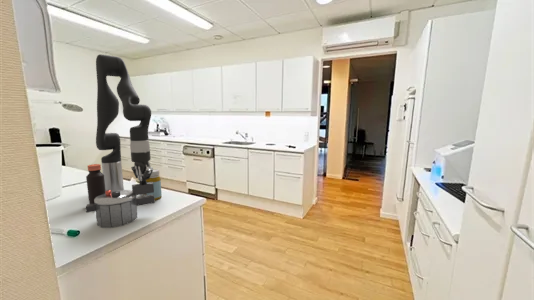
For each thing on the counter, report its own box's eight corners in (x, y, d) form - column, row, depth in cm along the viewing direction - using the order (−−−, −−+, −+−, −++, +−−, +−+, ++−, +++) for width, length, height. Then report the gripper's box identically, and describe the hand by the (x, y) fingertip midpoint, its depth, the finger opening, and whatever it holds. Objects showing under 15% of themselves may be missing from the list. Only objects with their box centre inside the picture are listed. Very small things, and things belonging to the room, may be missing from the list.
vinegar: (107, 206, 110) (103, 165, 107) (89, 209, 106) (84, 167, 103) (106, 201, 116) (102, 163, 113) (89, 204, 112) (85, 164, 109)
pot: (85, 232, 86) (82, 210, 84) (91, 218, 98) (89, 198, 96) (156, 219, 97) (154, 199, 96) (154, 207, 109) (152, 189, 108)
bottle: (144, 199, 120) (141, 171, 117) (155, 195, 126) (154, 168, 123) (152, 201, 116) (150, 173, 114) (164, 197, 123) (162, 170, 120)
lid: (93, 208, 85) (92, 196, 84) (95, 196, 97) (94, 186, 96) (156, 197, 97) (155, 187, 96) (151, 188, 109) (150, 178, 108)
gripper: (123, 150, 101) (126, 187, 104) (140, 153, 95) (143, 193, 97) (140, 148, 108) (142, 183, 111) (157, 150, 101) (159, 188, 104)
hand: (143, 188), depth 104 cm, fingers closed
